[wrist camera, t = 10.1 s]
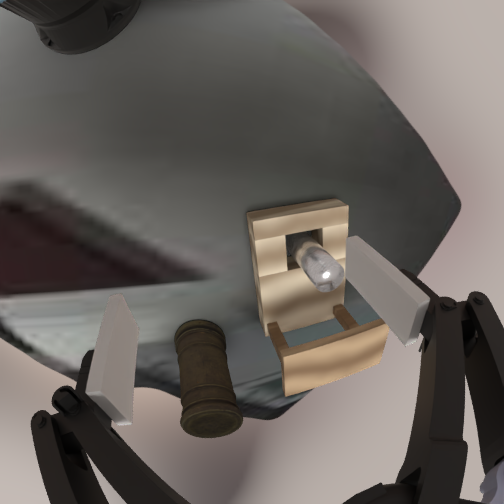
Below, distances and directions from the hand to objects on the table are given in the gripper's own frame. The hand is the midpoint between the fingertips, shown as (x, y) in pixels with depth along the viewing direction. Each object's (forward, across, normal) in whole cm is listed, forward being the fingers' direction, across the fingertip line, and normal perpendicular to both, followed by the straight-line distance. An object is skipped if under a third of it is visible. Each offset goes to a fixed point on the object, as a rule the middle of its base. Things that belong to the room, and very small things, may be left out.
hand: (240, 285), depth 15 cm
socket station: (+24, +11, -16) cm, 31 cm away
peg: (+24, +11, -11) cm, 29 cm away
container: (+24, -7, -26) cm, 36 cm away
